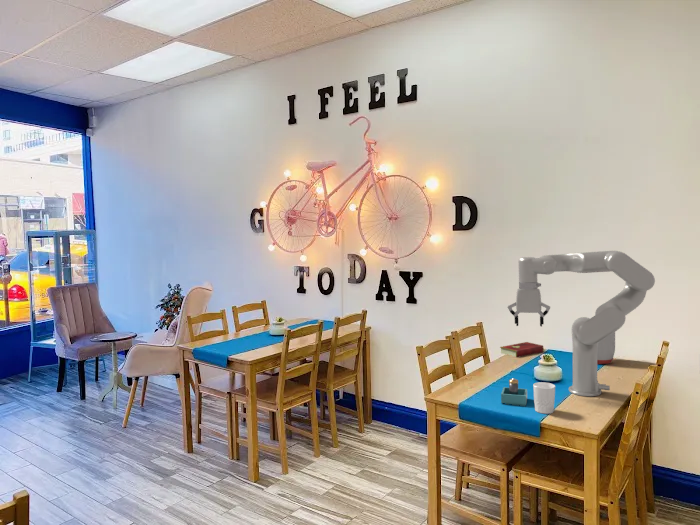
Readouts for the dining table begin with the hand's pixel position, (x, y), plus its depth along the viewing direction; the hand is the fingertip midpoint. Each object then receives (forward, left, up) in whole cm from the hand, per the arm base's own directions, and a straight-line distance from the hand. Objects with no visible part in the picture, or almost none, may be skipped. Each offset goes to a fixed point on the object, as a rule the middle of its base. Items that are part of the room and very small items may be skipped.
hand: (529, 325), depth 225 cm
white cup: (-7, +26, -28) cm, 39 cm away
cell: (+5, +17, -27) cm, 33 cm away
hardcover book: (+7, -67, -29) cm, 73 cm away
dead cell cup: (+5, +17, -28) cm, 33 cm away
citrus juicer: (-30, -56, -28) cm, 69 cm away
